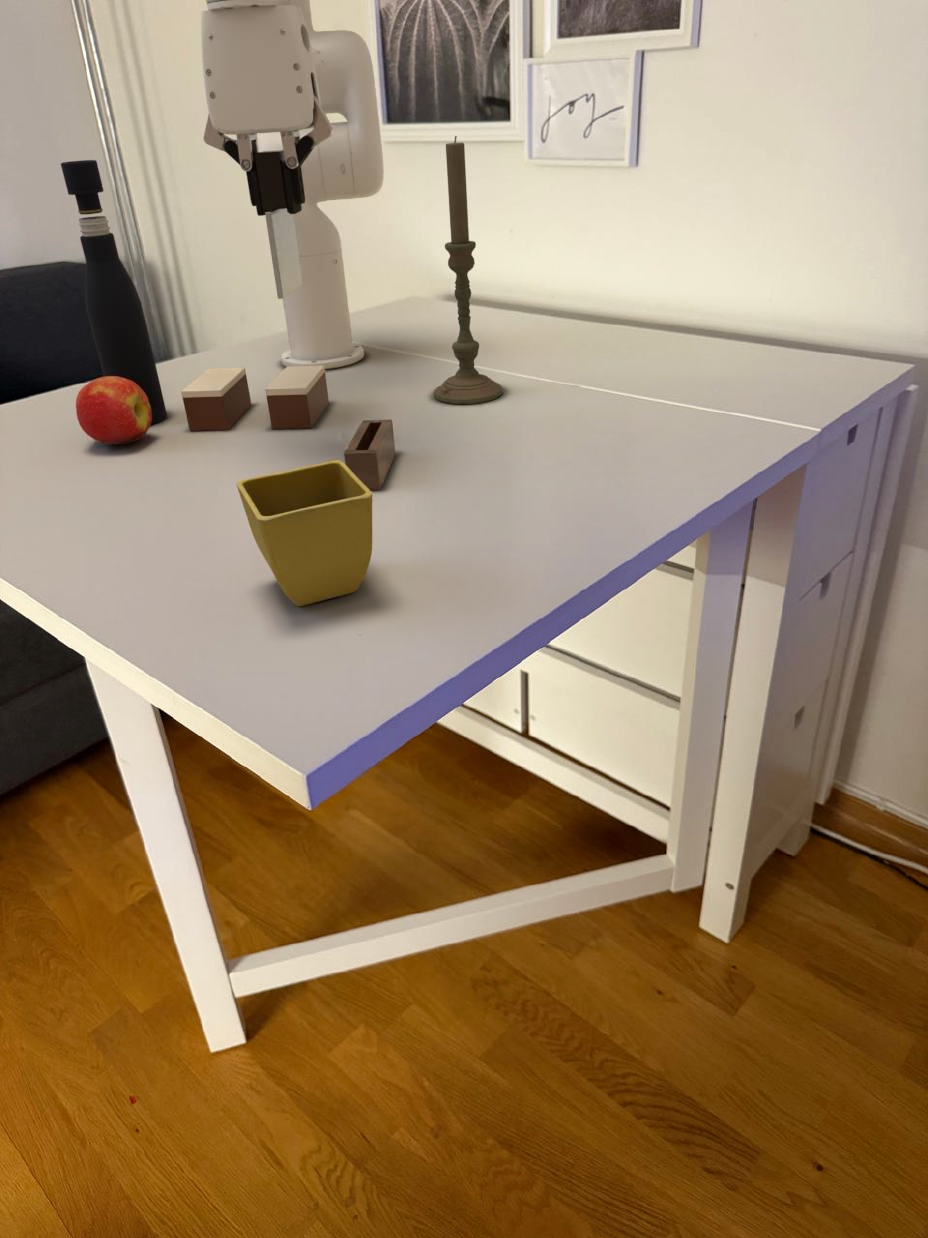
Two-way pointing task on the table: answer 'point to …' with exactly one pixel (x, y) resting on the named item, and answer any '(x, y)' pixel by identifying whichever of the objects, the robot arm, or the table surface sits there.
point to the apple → (113, 410)
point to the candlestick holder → (462, 293)
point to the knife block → (371, 452)
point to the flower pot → (312, 529)
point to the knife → (279, 222)
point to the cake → (216, 399)
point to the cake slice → (297, 397)
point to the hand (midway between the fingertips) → (279, 211)
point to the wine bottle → (112, 293)
